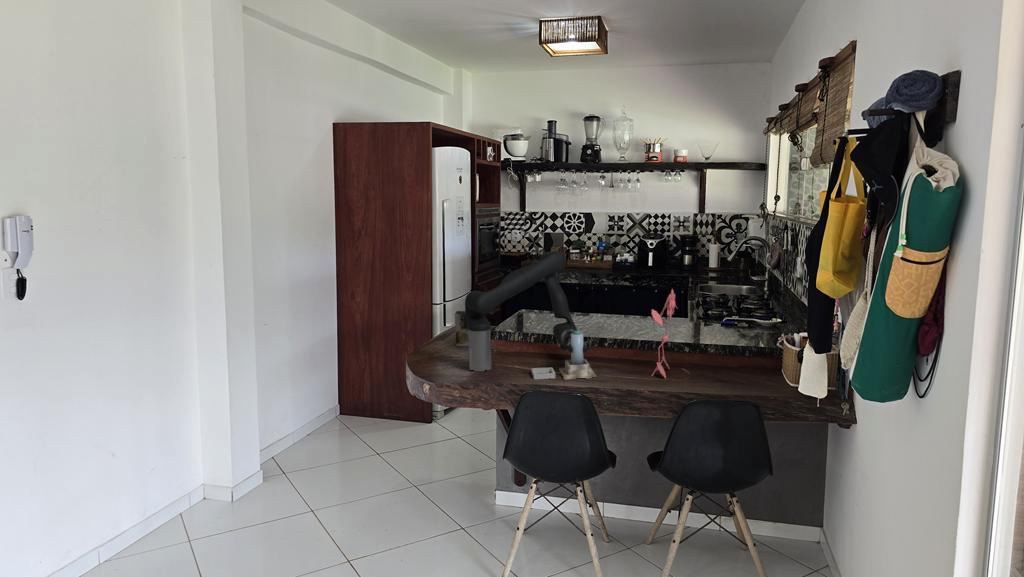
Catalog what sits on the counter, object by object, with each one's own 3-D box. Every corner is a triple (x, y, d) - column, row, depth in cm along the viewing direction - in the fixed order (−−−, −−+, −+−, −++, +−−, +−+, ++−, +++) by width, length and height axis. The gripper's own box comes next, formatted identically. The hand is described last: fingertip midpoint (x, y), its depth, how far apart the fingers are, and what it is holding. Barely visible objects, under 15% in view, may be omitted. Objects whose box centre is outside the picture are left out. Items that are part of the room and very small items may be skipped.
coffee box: (476, 343, 345) (475, 310, 342) (474, 346, 338) (473, 313, 336) (457, 343, 346) (456, 310, 343) (455, 346, 339) (454, 313, 336)
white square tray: (534, 379, 285) (534, 374, 285) (531, 373, 293) (531, 368, 293) (555, 378, 286) (555, 373, 285) (552, 372, 294) (552, 367, 294)
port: (564, 379, 284) (564, 367, 283) (559, 370, 297) (558, 358, 296) (596, 378, 285) (596, 365, 284) (589, 368, 298) (589, 357, 297)
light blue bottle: (572, 369, 288) (572, 332, 285) (570, 365, 293) (569, 329, 290) (584, 368, 288) (584, 332, 285) (582, 365, 293) (582, 329, 290)
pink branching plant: (644, 381, 278) (648, 294, 272) (658, 364, 302) (661, 283, 295) (684, 386, 272) (688, 297, 266) (695, 369, 296) (699, 286, 289)
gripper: (554, 331, 302) (560, 341, 285) (587, 330, 303) (595, 340, 286) (554, 348, 303) (560, 359, 286) (587, 347, 304) (596, 358, 288)
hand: (578, 349), depth 286 cm, fingers closed on light blue bottle, 5 cm apart
